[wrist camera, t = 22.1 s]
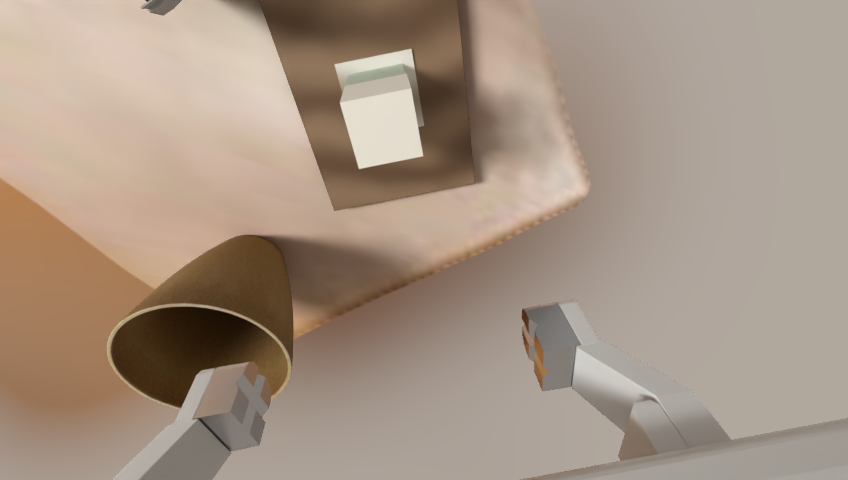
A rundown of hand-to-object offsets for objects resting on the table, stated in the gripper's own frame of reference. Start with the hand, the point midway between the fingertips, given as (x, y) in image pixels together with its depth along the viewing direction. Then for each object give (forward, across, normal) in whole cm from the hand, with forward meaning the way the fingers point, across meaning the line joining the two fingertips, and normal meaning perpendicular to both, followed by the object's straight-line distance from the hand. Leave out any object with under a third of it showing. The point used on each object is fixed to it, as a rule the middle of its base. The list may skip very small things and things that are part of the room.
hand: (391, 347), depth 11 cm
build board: (+31, 0, 0) cm, 31 cm away
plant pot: (+31, +20, +16) cm, 40 cm away
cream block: (+24, 0, 0) cm, 24 cm away
